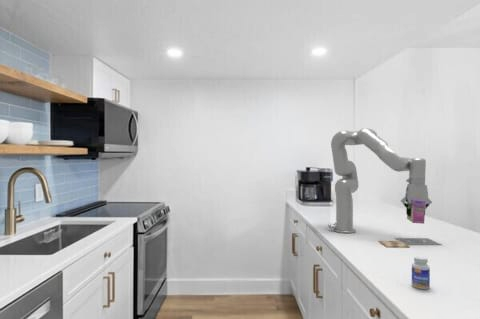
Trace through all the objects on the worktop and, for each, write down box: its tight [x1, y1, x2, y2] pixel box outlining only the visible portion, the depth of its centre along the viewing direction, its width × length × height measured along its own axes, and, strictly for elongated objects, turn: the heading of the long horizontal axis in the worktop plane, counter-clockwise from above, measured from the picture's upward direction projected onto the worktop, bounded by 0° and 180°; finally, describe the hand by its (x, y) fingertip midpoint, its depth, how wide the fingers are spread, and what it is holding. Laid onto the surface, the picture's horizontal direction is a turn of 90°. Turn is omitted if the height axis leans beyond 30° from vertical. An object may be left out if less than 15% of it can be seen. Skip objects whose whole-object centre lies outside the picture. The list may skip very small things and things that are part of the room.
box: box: [406, 200, 426, 224], centre depth 178 cm, size 10×6×12 cm, turn 169°
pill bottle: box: [411, 255, 431, 290], centre depth 115 cm, size 5×5×10 cm
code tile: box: [393, 237, 443, 246], centre depth 178 cm, size 18×14×1 cm
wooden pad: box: [378, 240, 411, 249], centre depth 172 cm, size 11×11×1 cm
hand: (415, 215), depth 178 cm, fingers closed on box, 6 cm apart
